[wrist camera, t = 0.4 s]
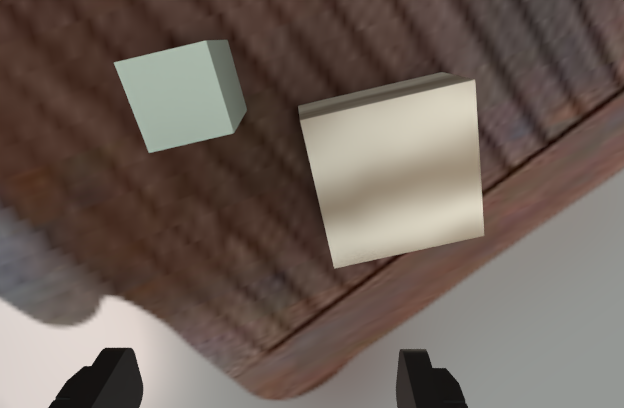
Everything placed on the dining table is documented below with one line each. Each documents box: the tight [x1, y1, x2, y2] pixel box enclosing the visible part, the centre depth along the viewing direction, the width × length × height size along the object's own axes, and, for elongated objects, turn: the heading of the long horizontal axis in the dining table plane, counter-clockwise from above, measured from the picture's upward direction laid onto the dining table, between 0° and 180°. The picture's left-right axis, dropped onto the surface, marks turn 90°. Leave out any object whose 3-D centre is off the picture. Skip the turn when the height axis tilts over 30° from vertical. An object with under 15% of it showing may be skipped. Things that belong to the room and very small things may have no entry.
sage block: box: [114, 40, 247, 153], centre depth 26 cm, size 5×5×8 cm
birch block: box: [298, 72, 484, 268], centre depth 30 cm, size 11×11×6 cm
